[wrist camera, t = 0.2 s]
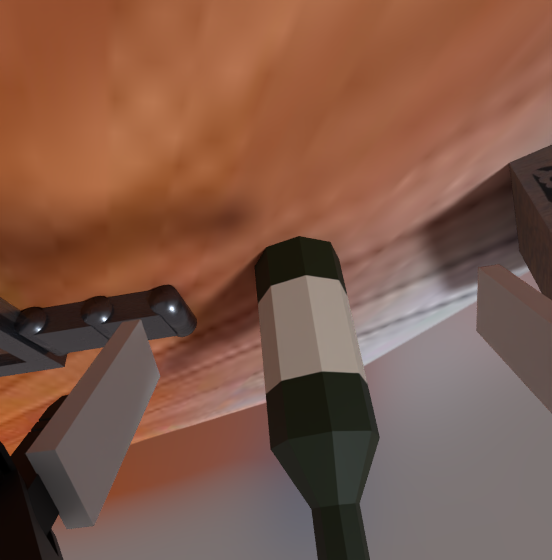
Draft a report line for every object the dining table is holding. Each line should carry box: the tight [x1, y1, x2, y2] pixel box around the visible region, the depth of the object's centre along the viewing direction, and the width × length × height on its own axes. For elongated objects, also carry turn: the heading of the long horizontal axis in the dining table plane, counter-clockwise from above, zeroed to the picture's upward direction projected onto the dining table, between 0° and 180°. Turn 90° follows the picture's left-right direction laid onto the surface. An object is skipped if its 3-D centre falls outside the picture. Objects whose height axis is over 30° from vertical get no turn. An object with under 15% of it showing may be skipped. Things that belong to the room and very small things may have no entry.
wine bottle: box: [255, 236, 379, 560], centre depth 31 cm, size 8×8×30 cm
